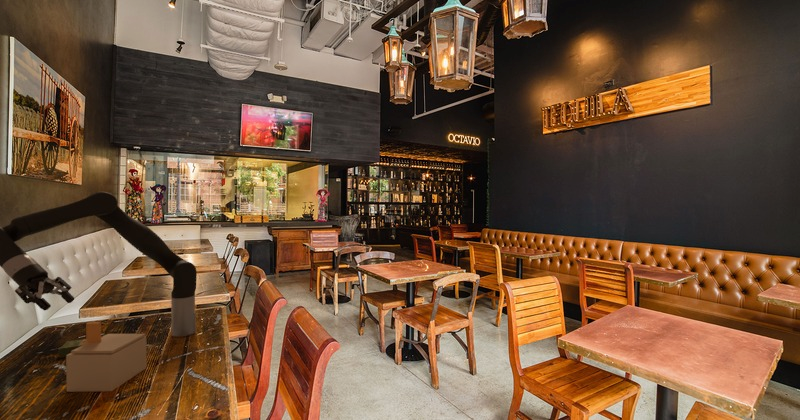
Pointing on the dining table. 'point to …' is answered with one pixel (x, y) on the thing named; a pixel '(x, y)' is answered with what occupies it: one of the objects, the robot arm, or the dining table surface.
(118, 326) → the dining table surface
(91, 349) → the tan box lid
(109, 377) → the cardboard box
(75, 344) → the carton
